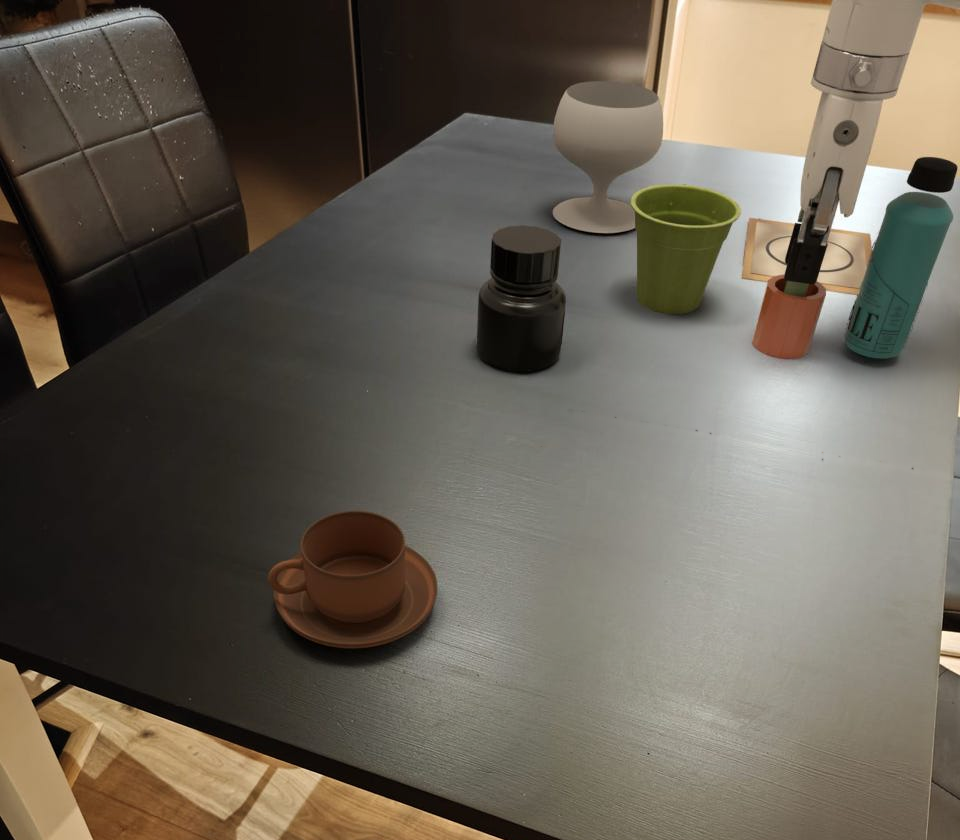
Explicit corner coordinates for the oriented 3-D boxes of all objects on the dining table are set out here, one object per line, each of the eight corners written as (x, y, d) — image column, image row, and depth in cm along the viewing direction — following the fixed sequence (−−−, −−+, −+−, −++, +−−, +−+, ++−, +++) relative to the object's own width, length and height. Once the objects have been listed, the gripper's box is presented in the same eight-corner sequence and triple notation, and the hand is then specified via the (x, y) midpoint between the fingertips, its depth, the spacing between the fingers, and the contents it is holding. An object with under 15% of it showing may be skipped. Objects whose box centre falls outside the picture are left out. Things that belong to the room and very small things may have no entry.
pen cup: (806, 340, 104) (826, 278, 99) (806, 366, 99) (826, 303, 94) (752, 332, 104) (768, 270, 100) (749, 358, 100) (766, 295, 95)
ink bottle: (578, 351, 100) (592, 237, 91) (535, 384, 95) (545, 267, 86) (502, 324, 103) (509, 213, 95) (456, 355, 98) (459, 239, 90)
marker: (790, 341, 102) (823, 230, 94) (790, 351, 101) (823, 238, 92) (770, 338, 102) (801, 227, 94) (769, 348, 101) (800, 235, 93)
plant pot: (596, 292, 110) (609, 192, 102) (678, 275, 114) (697, 178, 106) (654, 336, 103) (673, 232, 95) (739, 316, 107) (764, 215, 99)
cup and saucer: (326, 687, 64) (319, 623, 60) (248, 590, 71) (237, 526, 67) (468, 621, 70) (471, 557, 65) (383, 536, 76) (380, 473, 72)
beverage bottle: (908, 357, 102) (986, 161, 88) (882, 379, 98) (958, 178, 84) (853, 337, 105) (919, 144, 90) (825, 357, 101) (890, 159, 87)
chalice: (621, 247, 120) (640, 119, 109) (526, 221, 125) (535, 96, 114) (665, 214, 128) (686, 92, 118) (575, 191, 133) (587, 72, 123)
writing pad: (868, 238, 125) (870, 232, 125) (875, 301, 111) (878, 295, 111) (748, 221, 128) (749, 216, 127) (740, 282, 114) (742, 275, 113)
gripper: (908, 100, 77) (838, 313, 90) (896, 52, 88) (835, 247, 101) (815, 89, 78) (759, 301, 91) (815, 43, 89) (765, 237, 102)
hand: (800, 271), depth 96 cm, fingers open, 3 cm apart
